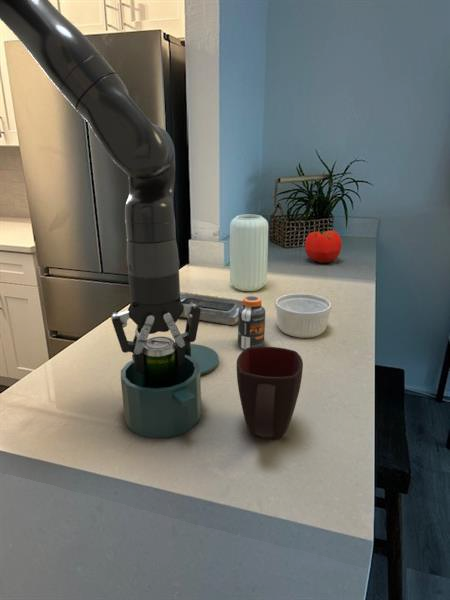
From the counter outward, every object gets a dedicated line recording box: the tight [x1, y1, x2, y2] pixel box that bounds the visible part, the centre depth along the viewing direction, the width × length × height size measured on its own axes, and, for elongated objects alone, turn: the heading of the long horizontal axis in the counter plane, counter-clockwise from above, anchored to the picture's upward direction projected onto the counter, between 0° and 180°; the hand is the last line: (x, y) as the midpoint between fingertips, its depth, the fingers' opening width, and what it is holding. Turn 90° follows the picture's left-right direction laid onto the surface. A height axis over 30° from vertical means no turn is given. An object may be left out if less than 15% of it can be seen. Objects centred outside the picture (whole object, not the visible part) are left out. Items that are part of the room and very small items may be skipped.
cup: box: [236, 346, 304, 440], centre depth 65 cm, size 10×14×12 cm
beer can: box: [142, 335, 178, 389], centre depth 70 cm, size 5×5×12 cm
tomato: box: [304, 229, 342, 264], centre depth 162 cm, size 13×14×12 cm
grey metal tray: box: [179, 291, 243, 326], centre depth 115 cm, size 13×25×3 cm, turn 71°
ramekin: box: [274, 292, 332, 339], centre depth 104 cm, size 13×13×7 cm
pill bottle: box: [237, 295, 266, 350], centre depth 95 cm, size 6×6×11 cm
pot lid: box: [185, 342, 219, 376], centre depth 88 cm, size 14×14×6 cm
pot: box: [120, 354, 202, 439], centre depth 71 cm, size 13×18×8 cm
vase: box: [229, 213, 269, 292], centre depth 131 cm, size 12×12×22 cm
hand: (160, 368), depth 70 cm, fingers closed on beer can, 5 cm apart
